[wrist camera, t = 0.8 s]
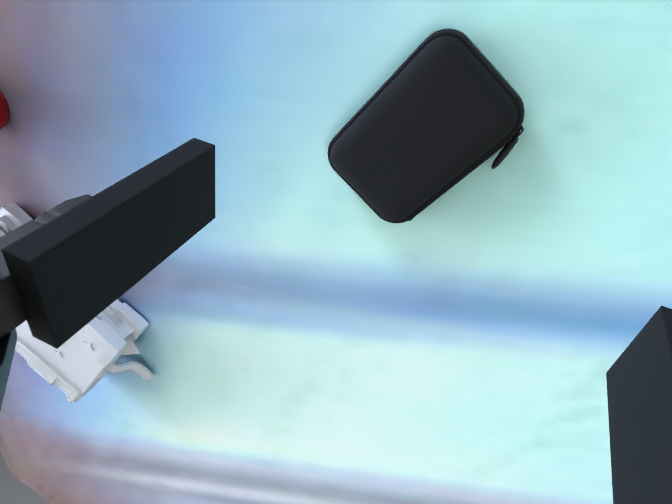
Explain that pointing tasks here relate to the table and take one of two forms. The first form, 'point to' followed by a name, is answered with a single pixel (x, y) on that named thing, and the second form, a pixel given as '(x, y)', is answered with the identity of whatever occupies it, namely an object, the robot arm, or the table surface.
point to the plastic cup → (3, 111)
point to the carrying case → (427, 128)
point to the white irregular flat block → (80, 339)
